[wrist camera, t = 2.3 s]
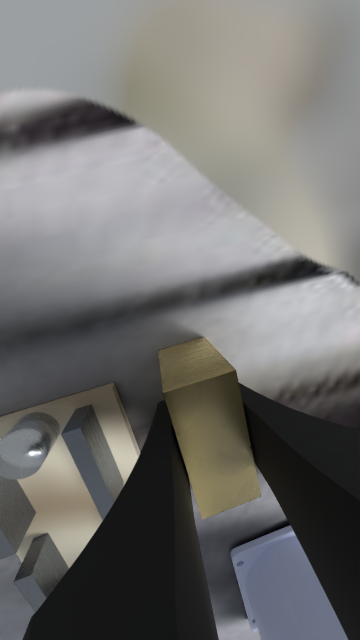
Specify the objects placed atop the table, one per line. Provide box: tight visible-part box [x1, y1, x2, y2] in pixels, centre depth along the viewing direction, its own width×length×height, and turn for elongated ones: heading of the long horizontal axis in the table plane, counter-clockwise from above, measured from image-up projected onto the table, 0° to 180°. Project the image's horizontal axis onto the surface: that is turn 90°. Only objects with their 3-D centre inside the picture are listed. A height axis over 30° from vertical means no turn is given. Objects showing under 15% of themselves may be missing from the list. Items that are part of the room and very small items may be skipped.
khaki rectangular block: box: [158, 337, 261, 519], centre depth 9 cm, size 6×3×4 cm, turn 14°
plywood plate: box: [0, 382, 140, 568], centre depth 11 cm, size 13×8×1 cm, turn 14°
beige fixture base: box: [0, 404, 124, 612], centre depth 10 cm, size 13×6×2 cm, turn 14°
